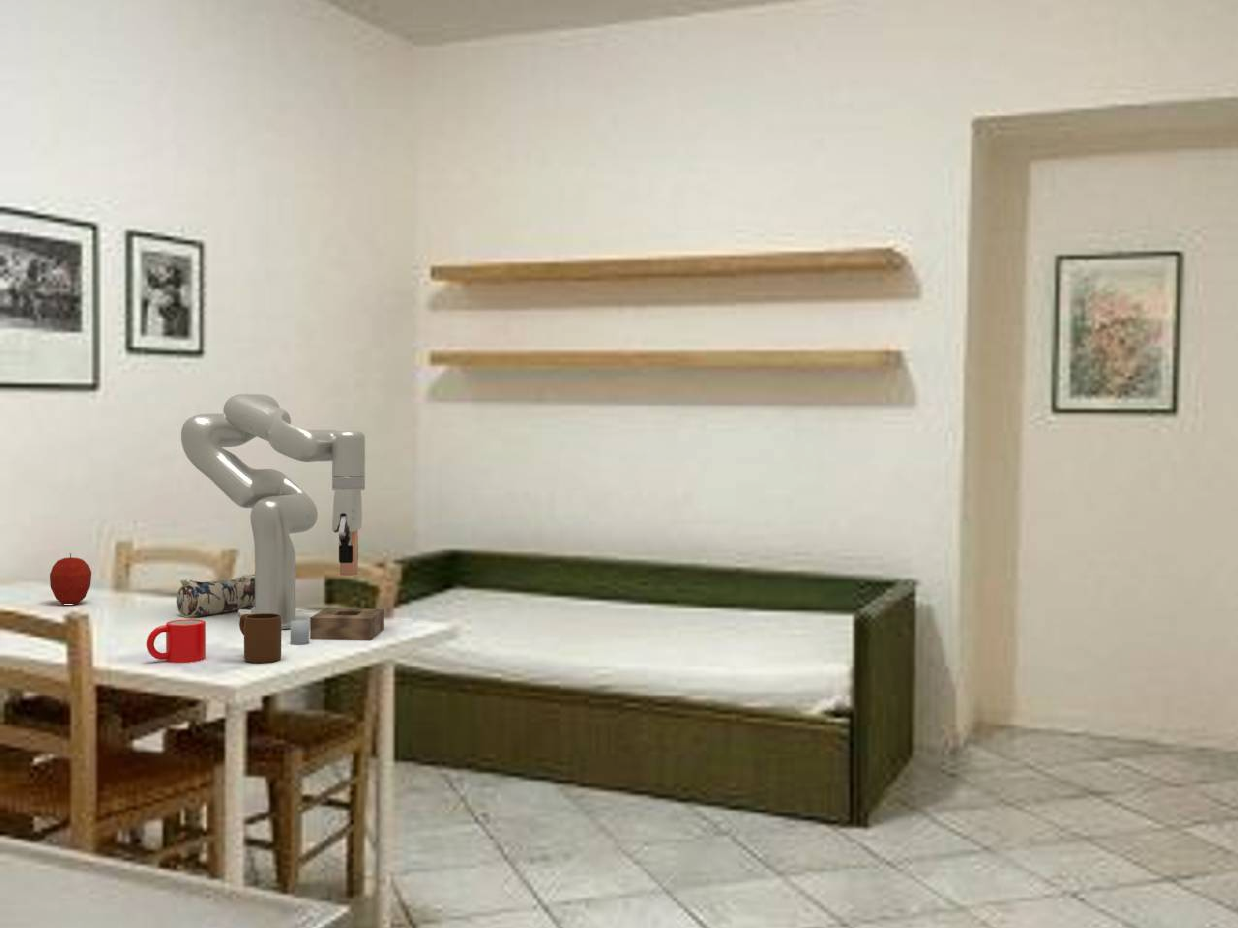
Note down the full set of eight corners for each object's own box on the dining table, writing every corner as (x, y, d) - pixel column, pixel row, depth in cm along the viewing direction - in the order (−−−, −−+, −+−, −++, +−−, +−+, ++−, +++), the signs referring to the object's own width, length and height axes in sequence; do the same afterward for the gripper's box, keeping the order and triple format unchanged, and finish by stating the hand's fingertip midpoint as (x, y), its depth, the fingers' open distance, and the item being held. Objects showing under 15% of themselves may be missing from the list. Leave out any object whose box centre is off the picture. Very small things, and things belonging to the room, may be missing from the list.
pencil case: (194, 620, 307) (194, 581, 307) (173, 616, 312) (173, 578, 312) (265, 609, 325) (265, 572, 325) (244, 606, 330) (243, 569, 330)
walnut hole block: (310, 639, 283) (310, 617, 283) (326, 628, 297) (326, 607, 297) (370, 640, 283) (370, 618, 283) (383, 629, 297) (384, 608, 297)
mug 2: (225, 657, 261) (225, 613, 261) (256, 652, 267) (256, 609, 267) (257, 665, 253) (257, 620, 253) (288, 660, 259) (288, 615, 259)
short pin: (288, 644, 276) (288, 622, 276) (293, 641, 280) (293, 619, 280) (306, 645, 276) (306, 622, 276) (310, 641, 280) (311, 619, 280)
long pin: (338, 575, 287) (338, 524, 287) (342, 573, 291) (342, 522, 291) (355, 575, 287) (355, 524, 287) (359, 573, 291) (359, 523, 291)
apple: (97, 604, 328) (97, 552, 327) (58, 608, 321) (58, 555, 320) (82, 600, 335) (82, 549, 335) (44, 604, 328) (43, 552, 327)
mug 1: (140, 660, 257) (140, 623, 256) (197, 654, 265) (197, 617, 264) (154, 667, 251) (153, 628, 250) (211, 660, 258) (211, 622, 258)
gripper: (341, 481, 297) (341, 557, 298) (323, 485, 280) (323, 565, 281) (372, 481, 297) (372, 557, 297) (356, 485, 280) (355, 566, 281)
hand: (348, 560), depth 289 cm, fingers closed on long pin, 4 cm apart
